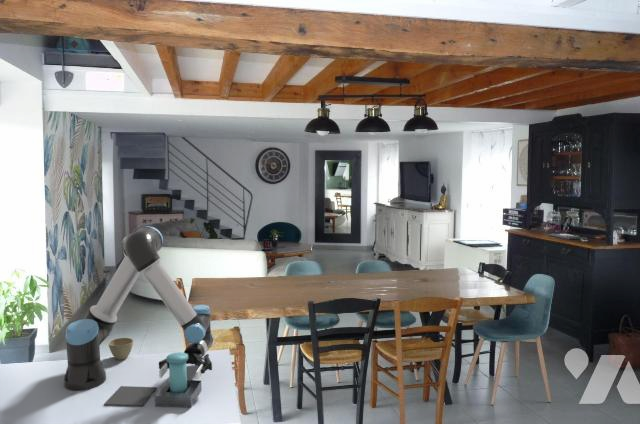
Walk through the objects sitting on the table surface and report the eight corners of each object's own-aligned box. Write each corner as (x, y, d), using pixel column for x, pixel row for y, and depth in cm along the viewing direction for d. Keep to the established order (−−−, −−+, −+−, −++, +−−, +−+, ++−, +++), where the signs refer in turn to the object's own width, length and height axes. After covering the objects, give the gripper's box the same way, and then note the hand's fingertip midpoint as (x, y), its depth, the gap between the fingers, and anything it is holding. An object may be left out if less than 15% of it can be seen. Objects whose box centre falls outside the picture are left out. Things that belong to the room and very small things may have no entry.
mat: (104, 405, 196) (103, 403, 195) (120, 387, 209) (120, 386, 209) (142, 406, 195) (142, 405, 194) (156, 388, 208) (156, 387, 208)
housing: (155, 406, 195) (154, 395, 194) (167, 389, 208) (167, 379, 207) (191, 407, 194) (190, 396, 193) (201, 390, 207) (201, 380, 206)
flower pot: (125, 363, 232) (125, 346, 231) (104, 361, 234) (103, 345, 233) (138, 353, 242) (137, 338, 241) (117, 352, 244) (116, 336, 243)
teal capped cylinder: (165, 403, 197) (163, 360, 195) (172, 393, 205) (170, 352, 203) (186, 403, 197) (184, 361, 194) (192, 393, 204) (190, 352, 202)
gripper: (226, 361, 219) (213, 385, 198) (165, 360, 221) (145, 383, 200) (226, 343, 218) (212, 365, 197) (164, 342, 220) (144, 364, 199)
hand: (178, 374), depth 198 cm, fingers open, 13 cm apart
